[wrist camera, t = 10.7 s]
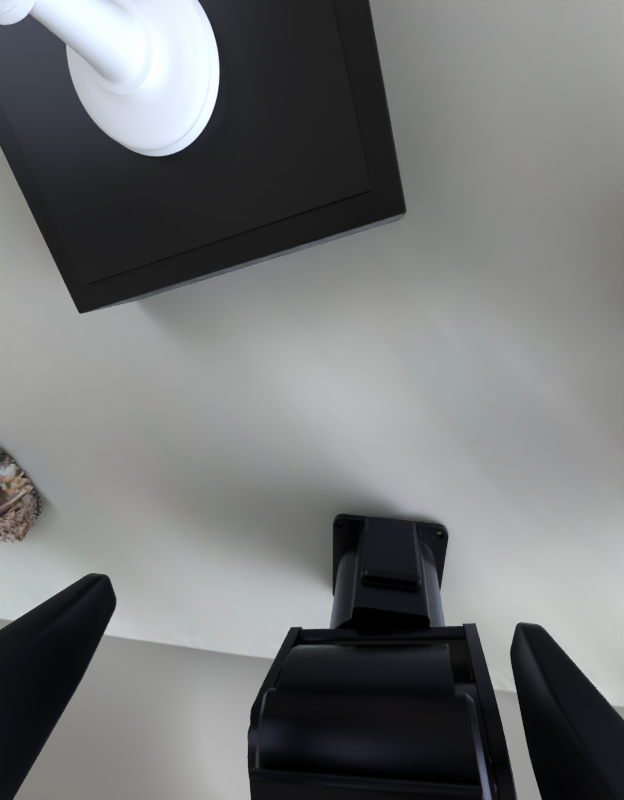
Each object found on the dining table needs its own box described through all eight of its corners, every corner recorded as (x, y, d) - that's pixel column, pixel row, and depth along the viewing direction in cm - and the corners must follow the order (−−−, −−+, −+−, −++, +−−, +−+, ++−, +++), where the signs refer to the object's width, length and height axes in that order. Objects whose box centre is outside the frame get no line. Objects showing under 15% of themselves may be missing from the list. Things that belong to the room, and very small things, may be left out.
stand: (402, 218, 17) (407, 212, 13) (133, 301, 20) (75, 315, 17) (316, -250, 12) (285, -472, 8) (-9, -38, 16) (-135, -126, 12)
